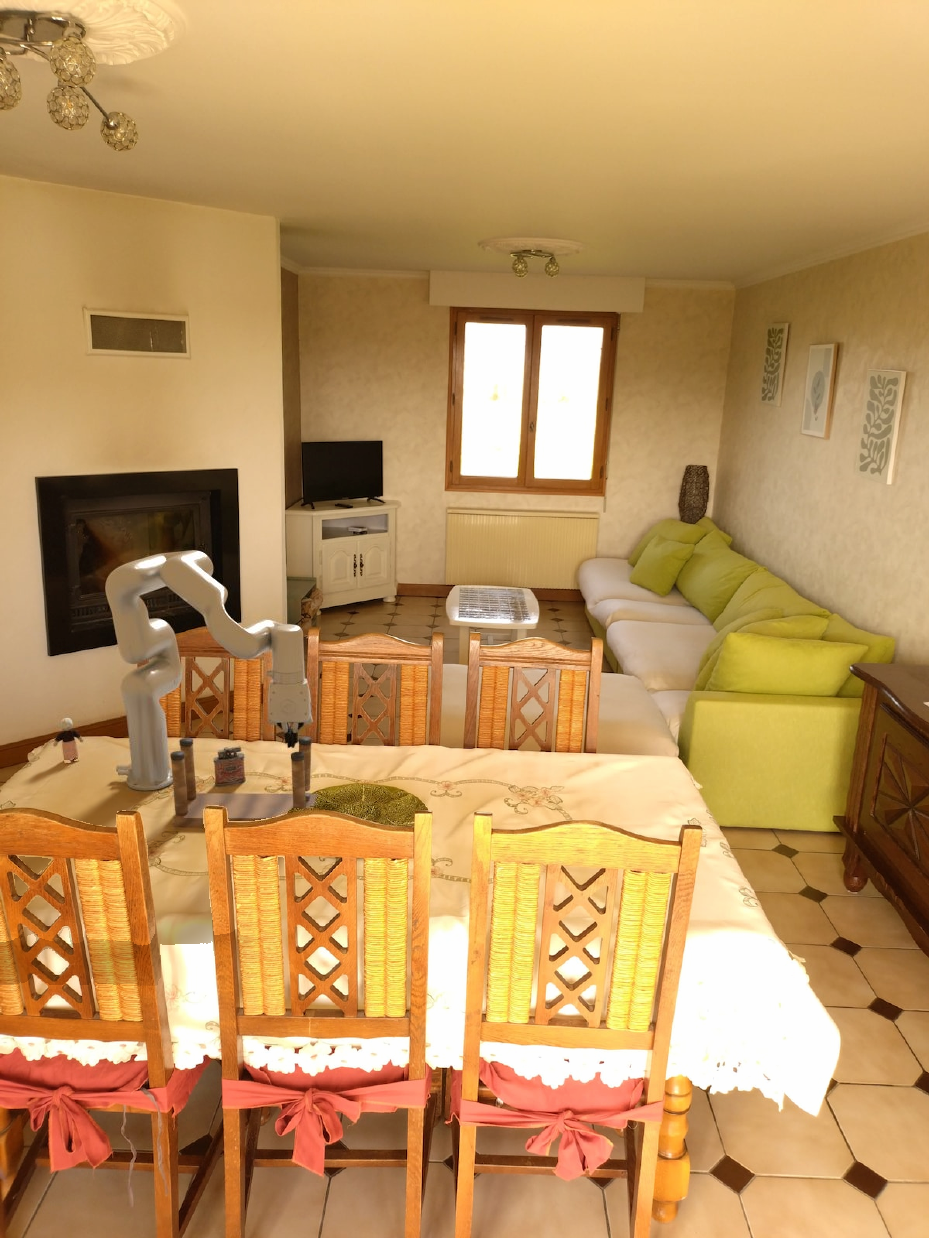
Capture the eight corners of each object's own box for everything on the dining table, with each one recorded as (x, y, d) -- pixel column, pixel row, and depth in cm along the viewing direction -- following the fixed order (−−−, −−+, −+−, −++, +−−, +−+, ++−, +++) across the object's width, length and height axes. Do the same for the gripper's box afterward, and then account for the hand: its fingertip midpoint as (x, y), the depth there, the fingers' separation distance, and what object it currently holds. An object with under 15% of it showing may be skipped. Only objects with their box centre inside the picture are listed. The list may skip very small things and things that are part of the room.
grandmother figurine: (81, 755, 265) (76, 713, 262) (86, 759, 263) (82, 717, 259) (53, 762, 260) (48, 719, 257) (58, 767, 258) (53, 724, 254)
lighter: (216, 788, 247) (214, 753, 244) (213, 783, 250) (211, 748, 247) (247, 782, 251) (245, 747, 248) (243, 777, 253) (242, 743, 251)
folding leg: (297, 741, 231) (310, 742, 231) (299, 736, 234) (312, 736, 234) (296, 791, 235) (309, 792, 235) (298, 785, 238) (311, 786, 238)
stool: (173, 826, 227) (167, 758, 222) (187, 801, 239) (182, 736, 234) (310, 827, 228) (307, 758, 223) (316, 802, 240) (315, 736, 235)
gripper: (254, 680, 224) (258, 751, 229) (317, 681, 225) (320, 752, 230) (260, 670, 231) (264, 739, 236) (321, 670, 232) (323, 739, 237)
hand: (291, 745), depth 233 cm, fingers closed
